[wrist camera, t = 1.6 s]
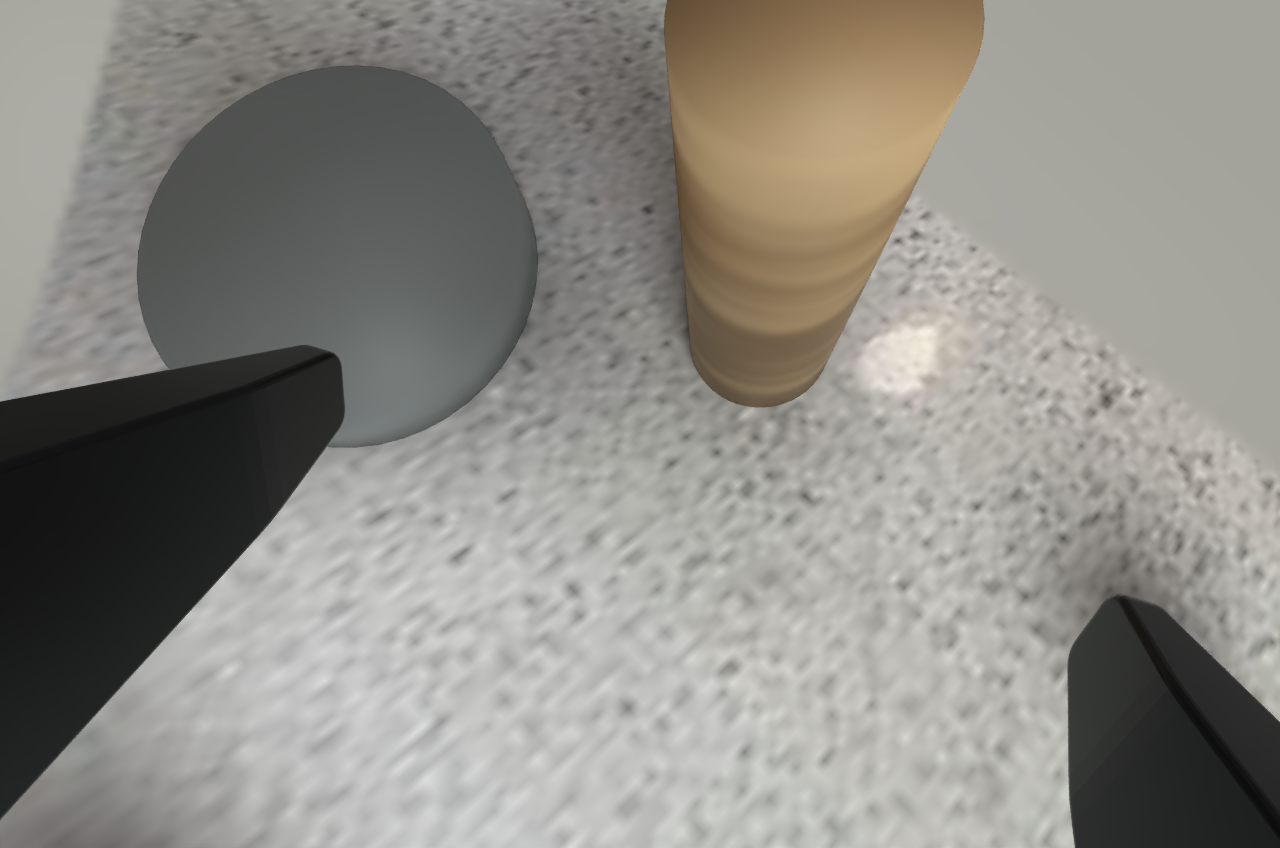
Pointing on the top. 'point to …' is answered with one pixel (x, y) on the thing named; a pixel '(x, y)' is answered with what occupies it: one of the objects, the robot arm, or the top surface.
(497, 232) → the grey plinth
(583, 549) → the top surface
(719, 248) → the teak pillar
